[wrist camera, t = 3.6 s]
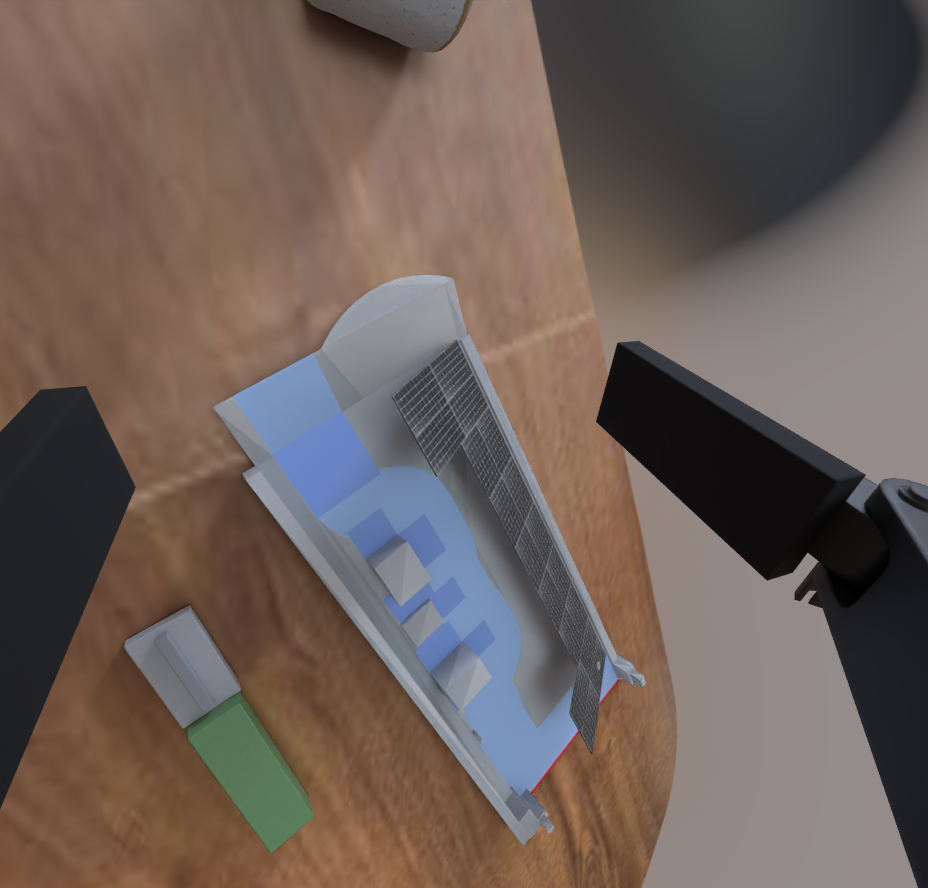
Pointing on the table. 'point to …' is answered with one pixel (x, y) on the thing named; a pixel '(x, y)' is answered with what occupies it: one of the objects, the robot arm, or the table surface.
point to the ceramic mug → (404, 19)
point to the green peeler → (221, 724)
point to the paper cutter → (434, 535)
